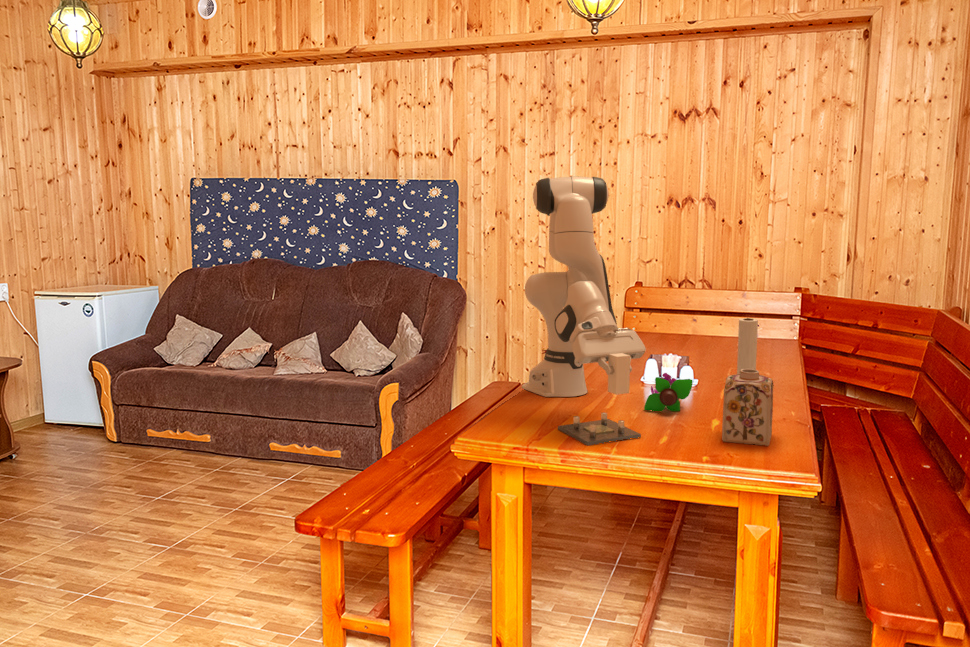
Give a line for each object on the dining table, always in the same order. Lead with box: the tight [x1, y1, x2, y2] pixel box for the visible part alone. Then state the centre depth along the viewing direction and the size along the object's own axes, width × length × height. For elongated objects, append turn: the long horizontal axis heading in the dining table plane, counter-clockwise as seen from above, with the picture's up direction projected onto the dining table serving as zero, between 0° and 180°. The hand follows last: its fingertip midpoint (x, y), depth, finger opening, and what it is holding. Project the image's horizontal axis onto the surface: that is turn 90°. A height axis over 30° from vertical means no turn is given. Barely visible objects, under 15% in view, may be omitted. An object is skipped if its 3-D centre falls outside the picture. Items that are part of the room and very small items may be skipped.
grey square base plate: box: [557, 412, 642, 446], centre depth 216 cm, size 16×16×4 cm
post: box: [607, 353, 631, 396], centre depth 212 cm, size 4×4×10 cm
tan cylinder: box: [736, 317, 759, 374], centre depth 272 cm, size 7×6×21 cm
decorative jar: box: [721, 369, 774, 447], centre depth 209 cm, size 12×12×18 cm
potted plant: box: [643, 372, 693, 412], centre depth 249 cm, size 12×16×35 cm
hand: (620, 372), depth 211 cm, fingers closed on post, 4 cm apart
